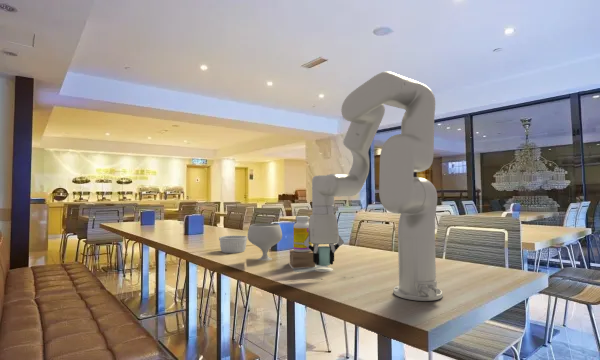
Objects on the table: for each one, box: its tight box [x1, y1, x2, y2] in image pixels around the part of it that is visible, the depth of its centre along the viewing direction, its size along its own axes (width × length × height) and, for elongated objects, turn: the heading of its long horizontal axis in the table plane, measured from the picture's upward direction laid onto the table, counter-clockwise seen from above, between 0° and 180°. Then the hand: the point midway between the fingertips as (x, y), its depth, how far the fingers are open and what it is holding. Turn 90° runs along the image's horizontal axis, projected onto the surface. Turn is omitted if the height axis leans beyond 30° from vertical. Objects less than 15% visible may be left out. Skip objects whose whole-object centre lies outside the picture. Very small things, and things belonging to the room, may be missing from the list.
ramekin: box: [218, 235, 248, 254], centre depth 169 cm, size 13×13×7 cm
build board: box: [288, 262, 334, 273], centre depth 125 cm, size 17×14×1 cm
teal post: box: [317, 245, 331, 267], centre depth 121 cm, size 4×4×6 cm
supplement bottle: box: [293, 215, 313, 252], centre depth 129 cm, size 7×7×13 cm
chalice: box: [247, 223, 283, 262], centre depth 141 cm, size 14×14×15 cm
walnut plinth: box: [289, 249, 315, 268], centre depth 129 cm, size 8×8×5 cm
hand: (323, 263), depth 121 cm, fingers closed on teal post, 4 cm apart
